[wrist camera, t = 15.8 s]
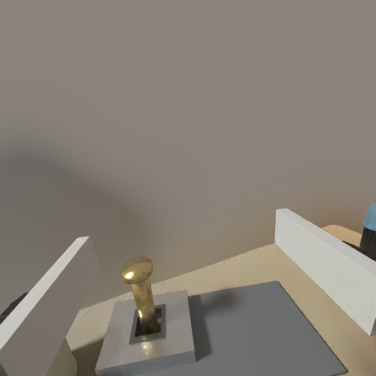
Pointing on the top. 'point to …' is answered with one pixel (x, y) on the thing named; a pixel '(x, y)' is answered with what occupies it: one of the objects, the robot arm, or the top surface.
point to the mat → (252, 336)
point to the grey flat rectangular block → (147, 338)
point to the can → (63, 362)
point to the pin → (142, 292)
